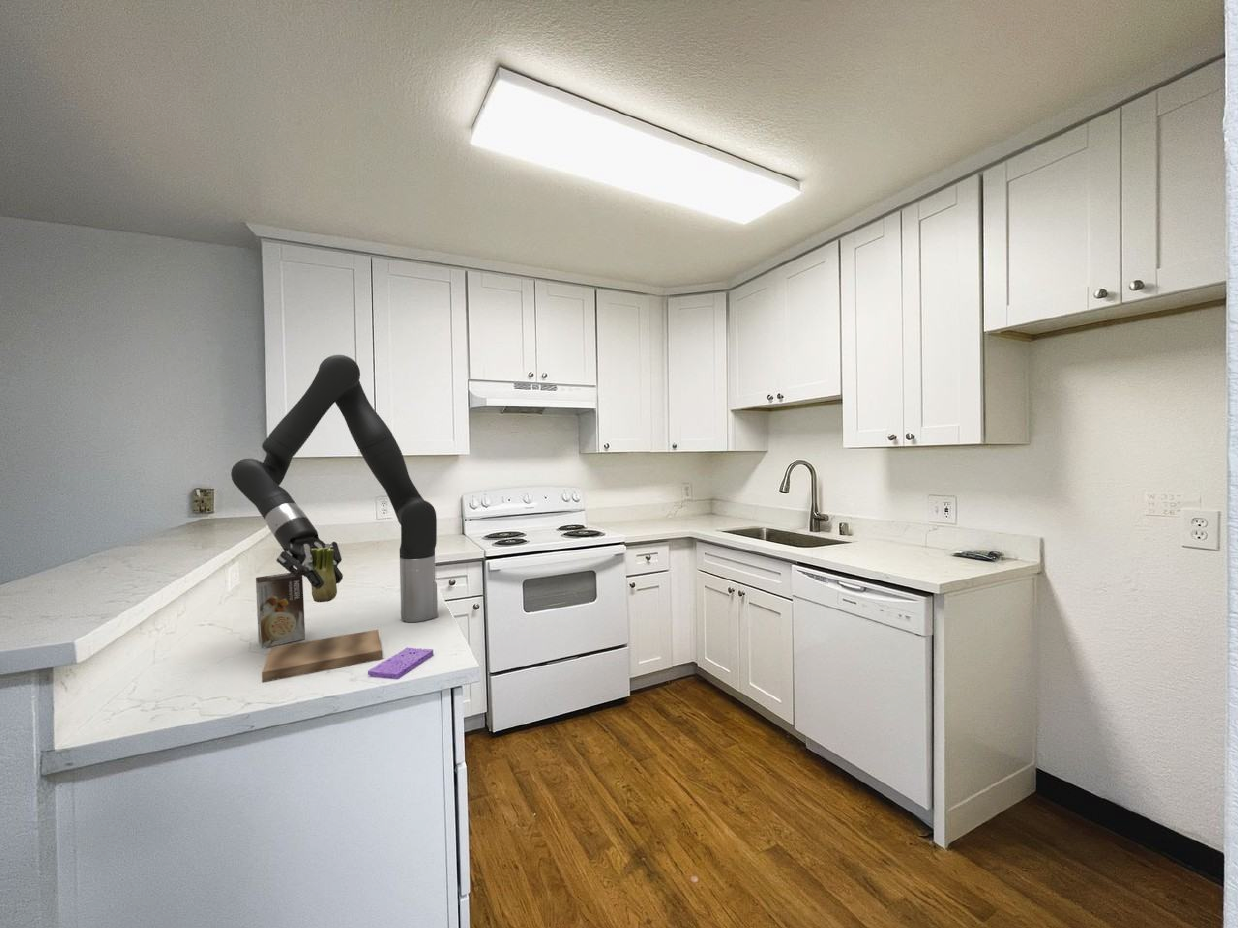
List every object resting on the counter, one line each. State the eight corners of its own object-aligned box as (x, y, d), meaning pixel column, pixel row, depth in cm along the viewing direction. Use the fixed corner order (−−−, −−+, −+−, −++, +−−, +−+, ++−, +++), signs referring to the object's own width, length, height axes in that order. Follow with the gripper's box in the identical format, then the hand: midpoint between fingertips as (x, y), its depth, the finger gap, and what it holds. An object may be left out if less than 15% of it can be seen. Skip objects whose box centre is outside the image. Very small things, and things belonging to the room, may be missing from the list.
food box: (301, 632, 129) (299, 570, 129) (305, 639, 124) (303, 575, 124) (257, 641, 123) (255, 577, 122) (260, 649, 118) (258, 581, 118)
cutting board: (378, 637, 124) (378, 629, 124) (382, 658, 111) (382, 649, 111) (271, 655, 114) (271, 647, 114) (262, 681, 101) (262, 672, 101)
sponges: (434, 657, 113) (433, 649, 113) (396, 682, 101) (396, 673, 101) (407, 654, 115) (407, 646, 115) (367, 679, 103) (367, 670, 103)
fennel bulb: (308, 600, 113) (307, 547, 112) (331, 595, 116) (330, 544, 116) (316, 605, 109) (315, 551, 108) (341, 600, 112) (340, 547, 112)
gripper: (267, 520, 108) (308, 580, 104) (327, 512, 121) (365, 565, 117) (251, 543, 110) (291, 603, 106) (312, 533, 123) (349, 586, 119)
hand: (330, 583), depth 112 cm, fingers closed on fennel bulb, 4 cm apart
